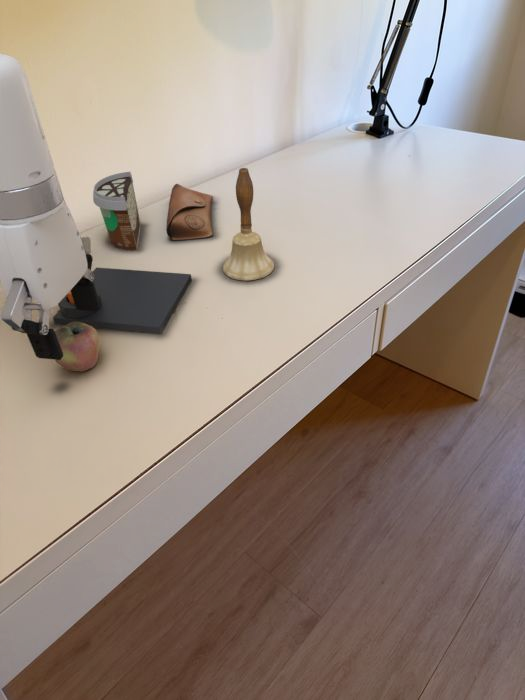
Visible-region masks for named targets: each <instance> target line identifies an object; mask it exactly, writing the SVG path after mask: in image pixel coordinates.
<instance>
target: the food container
mask: <svg viewBox="0 0 525 700" xmlns="http://www.w3.org/2000/svg"><path fill="white" fill-rule="evenodd" d="M92 201H93V204H94V205H95V206H96V207H98V208H99V211H100V213H101V216H102V220H103V222H104V225H105V229H106V231H107V234H108V237H109V240H110V243H111V245H112V246H113V247H114V248H116V249H119V250H124V251H137V250H138V246H139V240H140V234H141V229H142V225H141V219H140V214H139V209H138V204H137V198H136V194H135V186H134V180H133V175H132V171H124V172H119V173H115V174H111V175H107V176H106V177H104V178H101V179H100V180H98V181H97V182H96V183H95V184H94V186H93V190H92Z"/></svg>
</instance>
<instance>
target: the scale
mask: <svg viewBox="0 0 525 700" xmlns="http://www.w3.org/2000/svg"><path fill="white" fill-rule="evenodd" d="M92 271H93V273H94V280H93V281H91V282H94V286H95V289H96V292H97V296H98V299H99V302H100V306H101V308H100V310H99V311H85V310H77V309H76V306H75V304H73V303H70V302H69V299H68V296H67V295H66V296H65V297H64V298H63V299H62V300H61V301H60V302H59V303H58V304H57V306H58V308H59V310H58V311H57V312H56V313H55V314H54V315H53V316H52V320H53V322H54V324H55V325H57V326H58V325H59V326H66V325H68V324H69V323H71V322H82V323H85V324H87V325H89V326H92V327H93V328H94V329H100V330H110V331H111V330H112V331H122V332H131V333H143V334H153V335H154V334H155V335H162V334H163V332H164V330H165V328H166V326H167V325H168V323H169V322H170V319H172V316H173V314H174V313H175V311H176V309H177V307H178V305H180V302H181V301H182V298H183V297H184V295H185V294H186V291H187V290H188V288H189V286H190V285H191V283H192V281H193V280H192V274H191V273H180V272H166V271H153V270H152V271H151V270H139V269H122V268H109V267H108V268H107V267H95V268H94V269H93V270H92Z"/></svg>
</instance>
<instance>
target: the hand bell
mask: <svg viewBox="0 0 525 700" xmlns="http://www.w3.org/2000/svg"><path fill="white" fill-rule="evenodd" d="M235 197H236V202H237V205H238V208H239V212H240V232H238V233H236V234H234V235H233V236H232V242H231V243H232V244H231V251H230V255H229V257H228V258H227V259H226V260H225V261H224V263H223V266H222V271H223V273H224V275H225V276H227V277H229V278H231V279H233V280H238V281H246V282H247V281H256V280H260V279H263V278H265V277H267V276H269V275H270V274H272V272H273V271H274V269H275V263H274V261H273V259H272V258H270V256H268V255H267V254H266V252H265V250H264V247H263V241H262V237H261V235H260V234H259V233H258V232H255V231H253V230H252V228H253V227H252V226H253V224H252V213H251V212H252V206H253V202H254V185H253V181H252V177H251V175H250V171H249V169H248V168H247V167H241V168H239V169H238V175H237V177H236V183H235Z"/></svg>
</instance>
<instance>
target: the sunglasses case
mask: <svg viewBox="0 0 525 700" xmlns="http://www.w3.org/2000/svg"><path fill="white" fill-rule="evenodd" d="M213 199H214V196H213V195H210V194H208V193H205V192H201V191H197V190H194V189H190V188H187V187H185V186H183V185H181V184H179V183H174V185H173V187H172V189H171V192H170V197H169V201H168V202H169V203H168V211H167V217H166V235H167V236H168V238H170V240H172V241H194V240H200V239H206V238H210V237H212V236H213V235H214V231H213V225H212V203H213Z"/></svg>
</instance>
